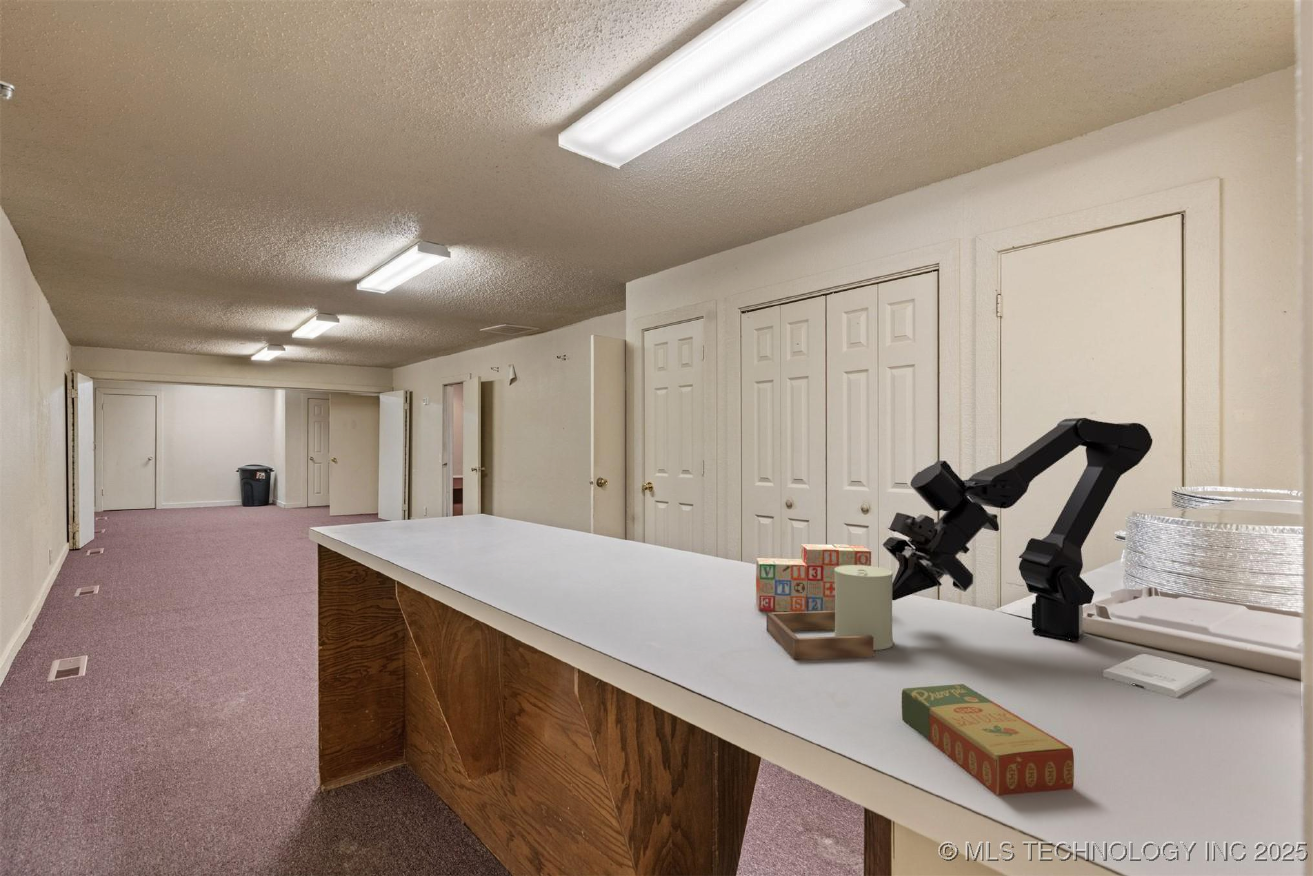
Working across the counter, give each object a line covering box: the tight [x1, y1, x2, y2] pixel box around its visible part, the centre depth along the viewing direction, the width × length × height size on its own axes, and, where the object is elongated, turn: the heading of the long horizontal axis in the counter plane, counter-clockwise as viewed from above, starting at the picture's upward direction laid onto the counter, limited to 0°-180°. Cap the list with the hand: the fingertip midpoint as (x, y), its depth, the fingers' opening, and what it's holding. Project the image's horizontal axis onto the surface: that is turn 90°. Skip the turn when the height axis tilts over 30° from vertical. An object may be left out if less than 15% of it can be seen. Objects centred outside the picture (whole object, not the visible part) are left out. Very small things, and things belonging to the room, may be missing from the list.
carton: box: [901, 683, 1075, 797], centre depth 64 cm, size 8×16×4 cm, turn 9°
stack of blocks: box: [755, 543, 872, 612], centre depth 119 cm, size 21×6×12 cm, turn 85°
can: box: [833, 565, 894, 651], centre depth 99 cm, size 9×9×12 cm
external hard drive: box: [1102, 653, 1213, 698], centre depth 84 cm, size 2×8×12 cm
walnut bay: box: [766, 611, 874, 661], centre depth 98 cm, size 12×15×3 cm
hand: (890, 598), depth 100 cm, fingers closed, pressing on can
